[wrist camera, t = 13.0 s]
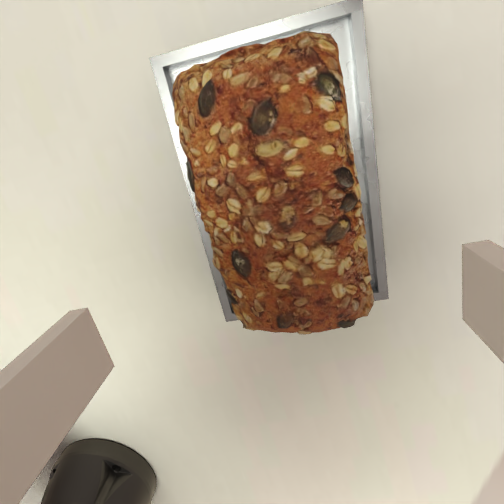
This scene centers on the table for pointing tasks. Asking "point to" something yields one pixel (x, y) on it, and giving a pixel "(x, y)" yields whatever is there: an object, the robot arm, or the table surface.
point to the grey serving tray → (358, 104)
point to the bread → (278, 182)
